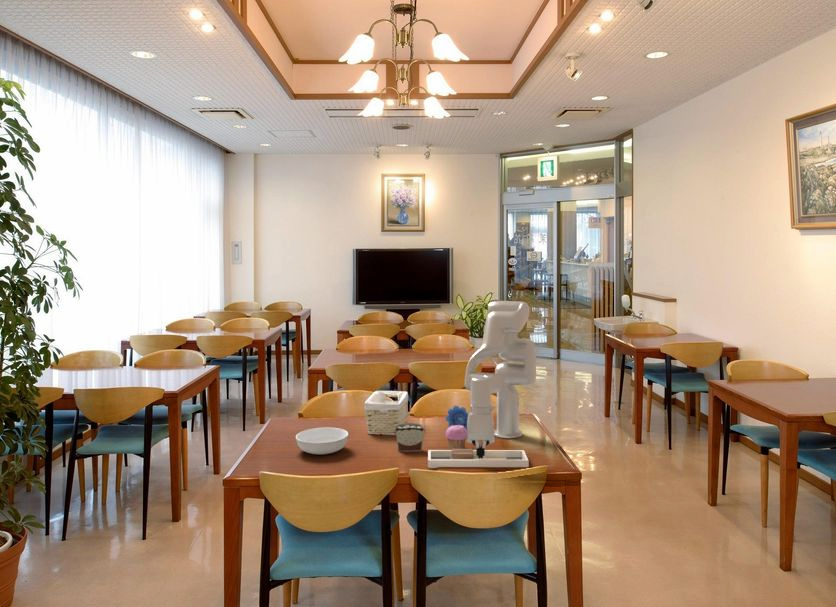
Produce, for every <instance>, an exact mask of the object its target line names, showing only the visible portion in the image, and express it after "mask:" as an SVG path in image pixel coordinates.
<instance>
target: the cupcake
mask: <svg viewBox="0 0 836 607" xmlns="http://www.w3.org/2000/svg"><path fill="white" fill-rule="evenodd" d="M445 438H446V439H447V442H448V446H449V448H450V450H452V449H466V448H465V446H466V439H467V430H466V428H465V427H464V426H461V425H454V426H451V427H449V426H448V428H447V429H446V431H445Z"/></svg>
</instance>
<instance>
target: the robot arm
mask: <svg viewBox="0 0 836 607" xmlns="http://www.w3.org/2000/svg"><path fill="white" fill-rule="evenodd" d="M530 309H531V308H530V306H529V304H528V303H527V302H525V301H519V300H518V301H517V300H515V301H513V300H511V301H510V300H493V301H490V302H489V303H488V305H487V311H488V312H487V313H488V314H486V318H485V324H484V330H483V337H482V343H481V347H480V348H478V350H476V351H475V352H474V353H473V354H472V355H471V357H470V359H469V360H468V362H467V365H466V368H465V375H464V387H465V389H466V390H468V392H469V391H470V411H469V412H468V413H469V414H468V420H467V438H466V439H465V442H467V443H469V444H472V445H473V446H474V447H475V448H476V449H475V450H476V455H477V456H478V458H479V459H480V458H481V459H483V456H485V450H486V447H487V446H488V445H489V444H492V443H495V437H497V438H502V439H517V438H520V437H522V436H523V431H522V430H520V394H519V392H518V389H517V388H516V386H521V387H532V386H533V385H535V383H536V379H537V350H536V345H535V342H534V341H533V340H532V339H529V338H519V337H518V334H519V333H520V332H521V331H522V330H523V328H524V327H525V325H526V323H527V322H528V319H529V317H530V312H531V311H530ZM497 355H498V357H499V358H500V359H501V360H505V362H500V363H498V364H497V365H496V366H495V368H494V373H490V372H489V373H488V372H479V371H476V369H477V368H478V366H479V364H480V363H481V362H483V361H484V360H486V359H489V358H491V357H494V356H497ZM506 361H507V362H506ZM509 361H513V362H509ZM514 361H515V362H514ZM516 361H517V362H516ZM520 362H522V363H520ZM491 394H492V395H493V394H496V409H495V406H492V400H491V398H492V395H491ZM495 410H496V429H495V423H494V414H493V411H495ZM479 441H481V445H480V443H479Z"/></svg>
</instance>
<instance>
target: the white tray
mask: <svg viewBox="0 0 836 607" xmlns="http://www.w3.org/2000/svg"><path fill="white" fill-rule="evenodd" d="M473 452H474V459H452V449H428V450H427V454H428V455H427V469H439V468H529V466H530V463H529V459H528V457H527V455H526V451H525V450H524V449H507V450H506V449H485V456H483V459H481V458H480V459H479V458H478V456H477V455H476V449H473Z"/></svg>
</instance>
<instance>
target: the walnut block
mask: <svg viewBox="0 0 836 607" xmlns="http://www.w3.org/2000/svg"><path fill="white" fill-rule="evenodd" d="M451 450H452V459H474V452H473V450H474V449H473V448H464V449H451Z"/></svg>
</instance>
